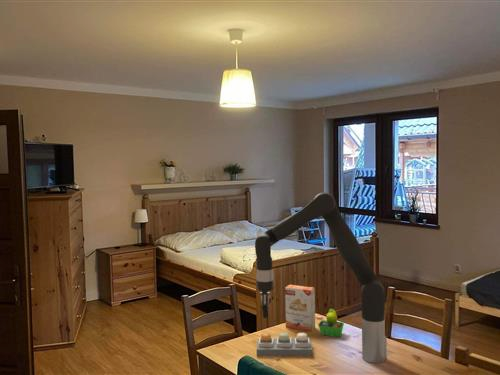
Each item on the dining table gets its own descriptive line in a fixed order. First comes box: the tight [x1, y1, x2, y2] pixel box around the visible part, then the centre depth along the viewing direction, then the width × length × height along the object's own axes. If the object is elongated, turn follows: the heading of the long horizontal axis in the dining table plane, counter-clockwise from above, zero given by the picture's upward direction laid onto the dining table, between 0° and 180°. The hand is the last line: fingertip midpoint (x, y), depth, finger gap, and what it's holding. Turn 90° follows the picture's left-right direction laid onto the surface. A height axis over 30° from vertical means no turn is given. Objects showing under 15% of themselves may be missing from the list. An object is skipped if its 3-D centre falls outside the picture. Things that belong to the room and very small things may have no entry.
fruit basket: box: [318, 308, 345, 338], centre depth 215 cm, size 11×9×11 cm
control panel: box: [256, 337, 313, 357], centre depth 197 cm, size 24×12×4 cm, turn 87°
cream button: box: [296, 332, 308, 341], centre depth 196 cm, size 4×4×2 cm
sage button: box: [278, 332, 290, 341], centre depth 197 cm, size 4×4×2 cm
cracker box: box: [284, 284, 316, 332], centre depth 223 cm, size 14×6×21 cm, turn 62°
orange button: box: [260, 332, 272, 341], centre depth 197 cm, size 4×4×2 cm
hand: (265, 317), depth 197 cm, fingers closed
